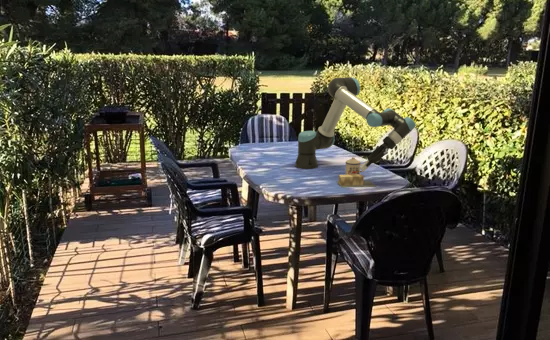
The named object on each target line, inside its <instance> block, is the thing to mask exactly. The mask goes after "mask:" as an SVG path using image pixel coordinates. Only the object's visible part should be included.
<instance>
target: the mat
mask: <svg viewBox="0 0 550 340" xmlns="http://www.w3.org/2000/svg"><path fill="white" fill-rule="evenodd" d="M336 183H337V184H338V186H340V187H341V188H342V189H345V188H377V185H375V183H373V182H372V181H370V180H363V185H347V186H341V185H340V184H339V180H338V181H336Z"/></svg>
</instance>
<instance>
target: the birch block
mask: <svg viewBox="0 0 550 340" xmlns="http://www.w3.org/2000/svg"><path fill="white" fill-rule="evenodd" d="M364 179H365V177H364V175H363V174H361V173H360V174H356V175H345V174H338V181H339V184H340V185H341V186H347V185H363V181H365V180H364ZM339 184H338V185H339ZM340 185H339V186H340ZM341 186H340V187H341Z"/></svg>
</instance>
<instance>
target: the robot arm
mask: <svg viewBox="0 0 550 340" xmlns="http://www.w3.org/2000/svg"><path fill="white" fill-rule="evenodd" d="M327 91H328V94H329V96H331V97H332V99H333V101H332V104H331V106H330V107H329V110H328V112H327V114H326V116H325V118H324V120H323V123H322V125H321V126H319V127H318V129H317V130H316V131H314V130H305V131H301V132H299V134H298V137H297V141H298V143H297V145H298V146H297V147H298V148H297V157H296V161H295V163H294V164H295V168H298V169H307V170H309V169H316V168H318V165H319V164H318V163H319V162H318V159H317V156H316V151H317V150H325V149H328V148H331V147H333V145H334V144H335V141H336V139H335V138H336V137H335V132H334V131H335V129H336V127H337V125H338V123H339V121H340V119H341V117H342V115H343V113H344V111H345V109H346V107H348V108H349V109H351V110H352V111H354V112H355V113H356V114H357V115H359V116H361V117H362V118H363V119H365V120H366V123H367V125H368V126H369V127H370V128H378V127H385V126H391V127H392V128H393V129H392V130H391V131H390V132H389V133H388V134H387V136H385V137H384V138H383V139H382V144H380V145H377V146H376V147H375V148H374V149H373V151H372V152H371V153H370V154H369V155H368V157H367V160H366V161H365V162H364V163H362V164H363V165H362V166H360V171H363V172H365V171H366V170H367V169H369V167H370V166H371V165H372V164H376V163H377V162H378V161H380V159H382V158H383V157H384V156H386V155H388V153H389V152H388V151H389V149H390V150H393V149H395V147H397V145H398V144H399V143H401V142H402V140H403V139H405V137H407V136H408V135H409V134H410V133H411V132H412V131H413V130H414V129H415V127H416V126H417V124H416V122H415V121H414V120H413V119H412V118H411V117H409V116H405V117H402V116H401V115H400V114H398V112H396V111H395V110H394V109H392V108H389V107H388V108H385V109H384V110H383V111H382V112H379V110H376V109H375V108H374V107H372V106H371V105H369V104H368V103H367V102H365V101H364V100H363V99H361V98H359V97H358V95H359V94H360V91H361V85H360V82H359V80H358V79H357V78H355V77H350V76H349V77H334V78H333V79H331V80H330V81H329V83H328V85H327ZM363 172H362V173H363Z"/></svg>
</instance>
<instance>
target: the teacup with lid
mask: <svg viewBox="0 0 550 340" xmlns="http://www.w3.org/2000/svg"><path fill="white" fill-rule="evenodd" d="M363 164H364V163H361V161H360V160H357V159H356V157H352V156H351V158H350V159H347V160H346V161H345V174H344V175H356V174H361V173H363V171H362V170H361V169H360V167H361V166H362V165H363Z"/></svg>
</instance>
